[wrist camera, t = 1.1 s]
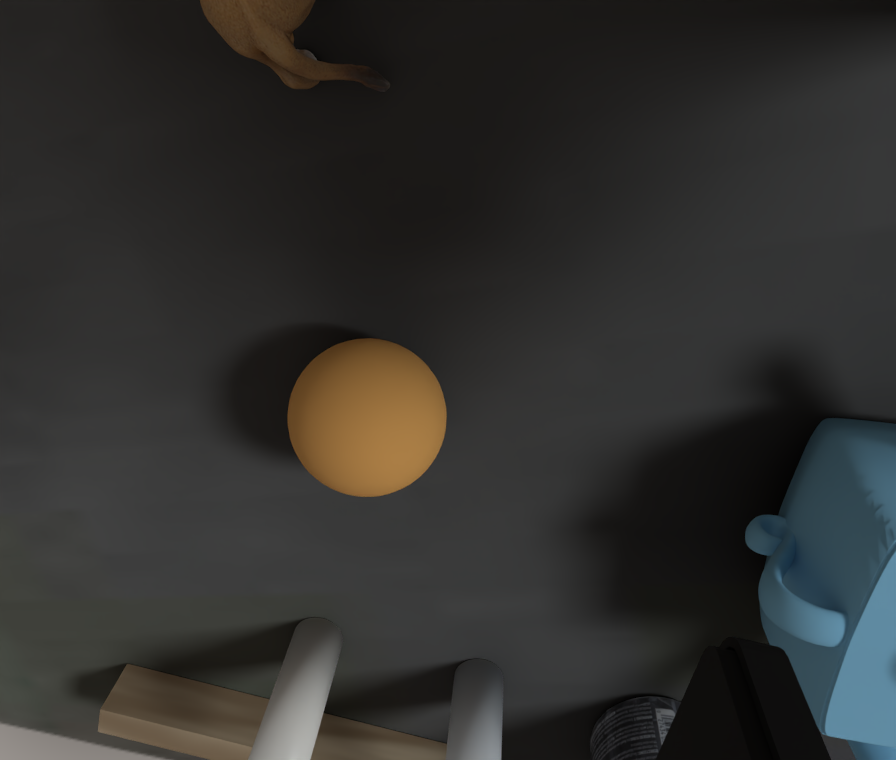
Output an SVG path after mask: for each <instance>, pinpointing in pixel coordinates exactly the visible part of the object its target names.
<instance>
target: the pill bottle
mask: <svg viewBox="0 0 896 760" xmlns="http://www.w3.org/2000/svg"><path fill="white" fill-rule="evenodd" d="M680 704H681V702H679V701H676V700H673V699H670V698H664V697H639V698H634V699H630V700H626V701H624V702H621V703H619V704H617V705H615V706H613V707H612V708H610V709H608V710H607V711H606V712H605V713H604V714H603V715H602V716H601V717H600V718H599V719H598V721H597V722H596V724H595V725H594V728H593V730H592V733H591V738H590V758H591V760H655V759H656V757H657V755H658V753H659V750H660V748H661V746H662V744H663V742H664V739H665V737H666V735H667V733H668V730H669V728H670V726H671V724H672V721H673V719H674V717H675V715H676V712H677V710H678V708H679V706H680Z"/></svg>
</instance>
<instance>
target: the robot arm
mask: <svg viewBox="0 0 896 760" xmlns="http://www.w3.org/2000/svg"><path fill="white" fill-rule="evenodd" d="M655 760H831V758H830V756H829V753H828V751H827V749H826V746H825V744H824V742H823V739H822V737H821V734H820V732H819V730H818V727H817V725H816V722H815V720H814V718H813V715H812V713H811V710H810V708H809V706H808V703H807V701H806V698H805V696H804V694H803V691H802V689H801V687H800V684H799V682H798V679H797V677H796V675H795V672H794V670H793V667H792V665H791V663H790V660H789V658H788V656H787V654H786V653H785V651H784V650H783V649H781V648H780V647H777V646H772V645H768V644H763V643H759V642H754V641H749V640H745V639H740V638H736V637H728V638H727V639H725V640H724V641H723V642H722V644H721V646H720V647H715V646H709V647H708V648H706V649H705V651H704V653H703V654H702V657H701V659H700V661H699V663H698V665H697V668H696V670H695V672H694V674H693V677H692V679H691V681H690V683H689V686H688V688H687V690H686V692H685V695H684V697H683V699H682V701H681V704H680V706H679V708H678V710H677V712H676V715H675V717H674V719H673V721H672V724H671V726H670V728H669V730H668V733H667V735H666V737H665V739H664V742H663V744H662V746H661V748H660V750H659V753H658V755H657V757H656V759H655Z"/></svg>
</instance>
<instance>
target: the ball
mask: <svg viewBox="0 0 896 760" xmlns="http://www.w3.org/2000/svg"><path fill="white" fill-rule="evenodd" d="M446 416H447V414H446V404H445V400H444V396H443V392H442V390H441V387H440V385H439V383H438V381H437V379H436V377H435V375H434V374H433V373H432V371H431V370H430V369H429V367H428V366H427V365H426V364H425V363H424V362H423V361H422V360H421V359H420V358H419V357H418V356H417V355H415V354H414V353H413V352H411V351H410V350H408V349H406V348H404V347H402V346H400V345H398V344H396V343H393V342H390V341H386V340H381V339H372V338H364V339H355V340H349V341H346V342H342V343H339V344H337V345H334V346H332V347H330V348H328V349H327V350H325V351H324V352H322V353H321V354H319V355H318V356H317V357H316V358H314V359H313V360H312V361H311V362H310V363H309V364H308V365H307V367H306V368H305V369H304V370H303V372H302V373H301V375H300V376H299V378H298V379H297V381H296V384H295V386H294V388H293V390H292V393H291V397H290V400H289V407H288V415H287V418H288V429H289V435H290V440H291V443H292V446H293V448H294V450H295V452H296V454H297V456H298V458H299V460H300V461H301V463H302V464H303V466H304V467H305V468H306V469H307V470H308V472H309V473H310V474H311V475H313V476H314V477H315V478H316V479H317V480H319V481H320V482H321V483H323V484H324V485H326V486H328V487H329V488H331V489H334V490H336V491H338V492H341V493H344V494H348V495H353V496H361V497H375V496H382V495H386V494H390V493H392V492H395V491H397V490H400V489H402V488H404V487H406V486H408V485H410V484H411V483H412V482H414V481H415V480H416V479H418V478H419V477H420V476H421V475H422V474H423V473H424V472H425V471H426V470H427V469H428V468H429V466H430V465H431V464H432V462H433V461H434V459H435V458H436V456H437V454H438V452H439V450H440V447H441V445H442V442H443V439H444V435H445V430H446Z"/></svg>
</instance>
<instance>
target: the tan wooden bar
mask: <svg viewBox="0 0 896 760" xmlns="http://www.w3.org/2000/svg"><path fill="white" fill-rule="evenodd" d="M269 700H270V699H266V698H262V697H258V696H254V695H250V694H246V693H242V692H238V691H234V690H230V689H226V688H222V687H219V686H215V685H211V684H207V683H203V682H199V681H195V680H191V679H187V678H183V677H179V676H175V675H171V674H167V673H163V672H159V671H155V670H151V669H147V668H143V667H139V666H135V665H131V664H127V665H126V667H125V668H124V670H123V672H122V673H121V675H120V677H119V679H118V680H117V682H116V684H115V685H114V687H113V689H112V690H111V692H110V694H109V696H108V697H107V699H106V701H105V702H104V704H103V706H102V707H101V709H100V717H99V727H98V732H101V733H105V734H109V735H113V736H117V737H121V738H125V739H129V740H133V741H137V742H142V743H146V744H150V745H154V746H158V747H162V748H166V749H170V750H174V751H178V752H182V753H186V754H190V755H194V756H198V757H202V758H206V759H210V760H248V758H249V756H250V753H251V750H252V747H253V745H254V742H255V739H256V736H257V733H258V731H259V728H260V725H261V722H262V719H263V717H264V714H265V711H266V708H267V706H268V703H269ZM446 751H447V744H445V743H441V742H437V741H433V740H429V739H425V738H421V737H417V736H413V735H409V734H405V733H402V732H398V731H394V730H390V729H386V728H382V727H378V726H374V725H370V724H366V723H362V722H358V721H354V720H350V719H346V718H342V717H338V716H334V715H330V714H326V713H323V716H322V720H321V723H320V727H319V730H318V734H317V738H316V741H315V745H314V748H313V752H312V756H311V759H310V760H446Z"/></svg>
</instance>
